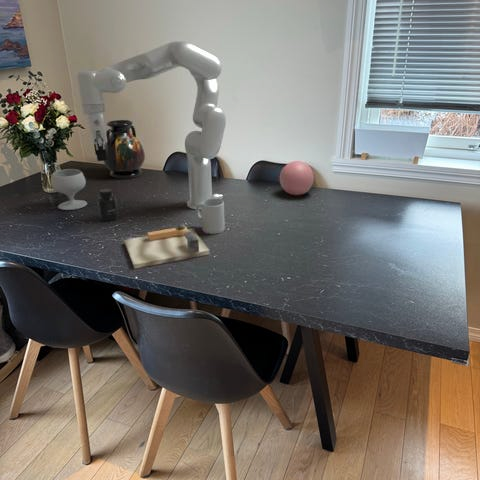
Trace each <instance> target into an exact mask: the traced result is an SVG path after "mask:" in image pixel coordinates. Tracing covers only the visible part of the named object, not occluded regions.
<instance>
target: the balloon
mask: <svg viewBox="0 0 480 480" xmlns="http://www.w3.org/2000/svg"><path fill="white" fill-rule="evenodd" d="M314 180H315V177H314V171H313V170H312V168H311V166H309V165H308V164H307V163H305V162H303V161H298V160H295V161H290V162H289V163H287V164H285V166H284V167H282V169H281V171H280V174H279V183H280V186H281V188H282V189H283V190H284V191H285V192H286V193H287V194H289V195H291V196H302V195H304V194H306V193H307V192H309V191H310V189H311V188H312V186H313V184H314Z"/></svg>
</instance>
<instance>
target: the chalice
mask: <svg viewBox="0 0 480 480" xmlns="http://www.w3.org/2000/svg"><path fill="white" fill-rule="evenodd" d="M86 183H87V182H86V177H85V176H84V173H83V172H82V170H80V169H76V168H66V169H65V168H64V169H61V170H56V171H54V172H52V173H51V175H50V185H51V186H50V187H51V189H53V191H55V192H57V193H60V194H63V195H66V197H68V198H69V199H68V200H67V201H64V202H62V203H60V204H59V205H58V206H57V208H58V209H59V210H63V211H72V210H73V211H75V210H79V209H81V208H84V207H86V206H87V205H88V202H87V201H85V200H82V199H75V195H76V193H78V192H79V191H81V190H82V189H84V188H85V186H86V185H87V184H86Z"/></svg>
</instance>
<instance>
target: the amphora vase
mask: <svg viewBox="0 0 480 480" xmlns="http://www.w3.org/2000/svg"><path fill="white" fill-rule="evenodd" d="M133 124H134V123H133V121H132V120H127V119H118V120H110V121H107V122H106V125H107V127H109V129H106V136H107V142H104V147H105V150H106V157H107V160H105V161H103V163H104V165H105V167H106V168H107V169H108V170H110V173H109V175H110V176H111V177H112V178H114V179H119V180H127V179H128V180H129V179H133V178H137V177H139V176H141V174H142V173H143V172H142V169H141V168H142V166H143V165H144V163H145V160H146V156H145V151H144V147H143V145H142V143H141V142H140V140H139V139H137V134H136V128H135V127H134V125H133ZM130 129H131V130H130Z"/></svg>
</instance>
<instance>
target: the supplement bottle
mask: <svg viewBox="0 0 480 480" xmlns="http://www.w3.org/2000/svg"><path fill="white" fill-rule="evenodd" d="M99 196H100V197H98V198H97V204H98V209H99V217H100V220H101V221H103V222H114V221H116V220H117V219H118V217H119V214H118V207H117V206H118V205H117V199H116V197H115V196H114V193H113V190H112V189H111V188H104V189H100V190H99Z"/></svg>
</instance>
